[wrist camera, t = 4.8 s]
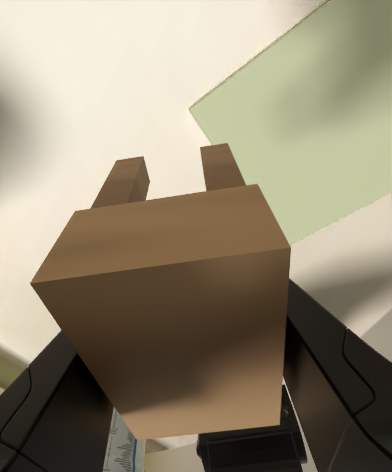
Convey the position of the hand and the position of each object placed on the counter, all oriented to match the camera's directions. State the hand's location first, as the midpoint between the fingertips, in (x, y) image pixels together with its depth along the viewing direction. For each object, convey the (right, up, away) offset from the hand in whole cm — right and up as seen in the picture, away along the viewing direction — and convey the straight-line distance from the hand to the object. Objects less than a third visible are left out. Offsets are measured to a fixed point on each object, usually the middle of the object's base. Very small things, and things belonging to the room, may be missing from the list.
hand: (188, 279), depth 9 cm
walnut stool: (0, +2, +3) cm, 3 cm away
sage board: (+9, +9, +10) cm, 16 cm away
